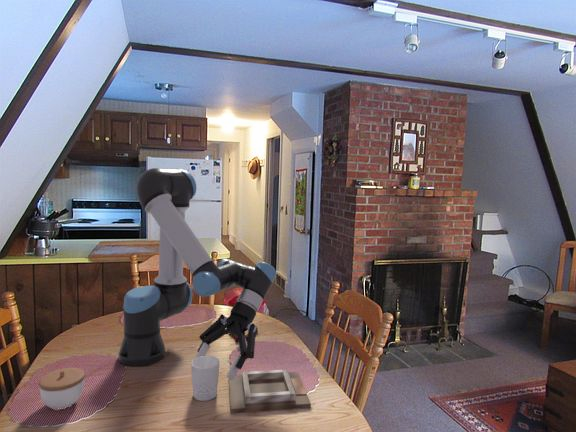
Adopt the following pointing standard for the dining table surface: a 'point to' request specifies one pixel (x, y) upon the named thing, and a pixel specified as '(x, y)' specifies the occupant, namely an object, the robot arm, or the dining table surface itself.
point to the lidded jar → (61, 387)
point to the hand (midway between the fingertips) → (212, 371)
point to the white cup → (205, 377)
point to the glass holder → (267, 391)
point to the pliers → (238, 340)
